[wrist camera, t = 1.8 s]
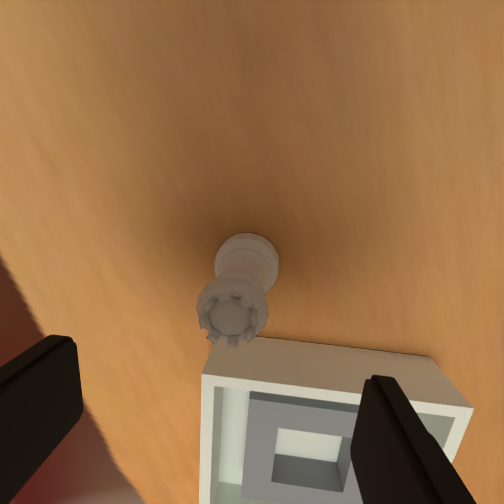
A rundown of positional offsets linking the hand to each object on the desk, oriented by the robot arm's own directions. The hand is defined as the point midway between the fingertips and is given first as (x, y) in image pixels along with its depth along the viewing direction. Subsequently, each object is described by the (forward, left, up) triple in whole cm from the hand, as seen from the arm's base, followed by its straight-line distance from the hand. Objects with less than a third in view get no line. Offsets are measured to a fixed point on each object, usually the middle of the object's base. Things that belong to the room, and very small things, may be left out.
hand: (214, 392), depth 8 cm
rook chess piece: (-1, 0, -11) cm, 11 cm away
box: (+13, +6, -11) cm, 18 cm away
